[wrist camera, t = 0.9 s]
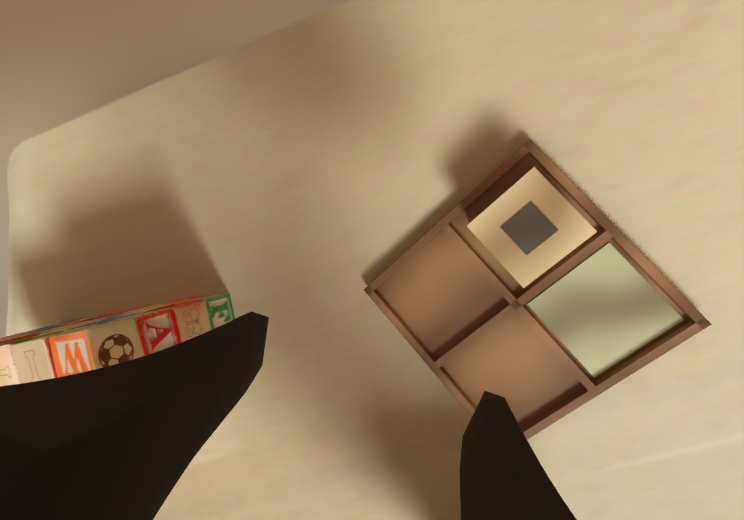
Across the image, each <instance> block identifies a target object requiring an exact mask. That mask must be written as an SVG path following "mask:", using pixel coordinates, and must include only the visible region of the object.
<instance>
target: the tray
mask: <svg viewBox="0 0 744 520" xmlns="http://www.w3.org/2000/svg"><path fill="white" fill-rule="evenodd" d="M533 167H535V168H536V169H537V170H538V171H539V172H540V173H541V174H542V175H543V176H544V177H545V178H546V179H547V180H548V181H549V182H550V184H551V185H552V186H553V187H554V188H555V189H556V190H557V191H558V192H559V193H560V194H561V195H562V196H563V197H564V198H565V199H566V200H567V201H568V202H569V203H570V204H571V205H572V206H573V207H574V208H575V209H576V210H577V211H578V212H579V213H580V214H581V215H582V216H583V218H584V219H585V220H586V221H587V222H588V223H589V224H590V225H591V226H592V227H593V228H594V229H595V230H596V231H597V232H596V233H595V234H594V235H592V236H591V237H590V238H588V239H587V240H586V241H584V242H583V243H582V244H581V245H579V246H578V247H577V248H575V249H574V250H573V251H572V252H570V253H569V254H568V255H566V256H565V257H564V258H562V259H561V260H560V261H559V262H557V263H556V264H555V265H553V266H552V267H551V268H549V269H548V270H547V271H546V272H544V273H543V274H542V275H540V276H539V277H538V278H536V279H535V280H534V281H533V282H531V283H530V284H529V285H527V286H526V287H525V288H523V287H522V286H521V285H520V284H519V283H518V282H517V281H516V279H515V278H514V277H513V276H512V275H511V274H510V273H509V272H508V271H507V270H506V269H505V267H504V266H503V265H502V264H501V263H500V262H499V261H498V260H497V259H496V258H495V257H494V255H493V254H492V253H491V252H490V251H489V250H488V249H487V248H486V247H485V246H484V245H483V243H482V242H481V241H480V240H479V239H478V238H477V237H476V236H475V235H474V234H473V233H472V231H471V230H470V229H469V228H468V227H467V225H468V224H469V223H470V222H472V221H473V220H474V219H475V218H476V217H477V216H478V215H480V214H481V213H482V212H483V211H484V210H485V209H486V208H488V207H489V206H490V205H491V204H492V203H493V202H494V201H496V200H497V199H498V198H499V197H500V196H501V195H502V194H504V193H505V192H506V191H507V190H508V189H509V188H510V187H512V186H513V185H514V184H515V183H516V182H517V181H518V180H520V179H521V178H522V177H523V176H524V175H525V174H526V173H528V172H529V171H530V170H531V169H532V168H533ZM364 290H365V292H366V293H367V294H368V295H369V296H370V298H371V299H372V300H373V301H374V302H375V303H376V305H377V306H378V307H379V308H380V309H381V311H382V312H383V313H384V314H385V315H386V316H387V318H388V319H389V320H390V321H391V322H392V324H393V325H394V326H395V327H396V328H397V329H398V331H399V332H400V333H401V334H402V335H403V336H404V338H405V339H406V340H407V341H408V342H409V344H410V345H411V346H412V347H413V348H414V349H415V351H416V352H417V353H418V354H419V355H420V357H421V358H422V359H423V360H424V361H425V362H426V364H427V365H428V366H429V367H430V368H431V370H432V371H433V372H434V373H435V374H436V375H437V377H438V378H439V379H440V380H441V381H442V382H443V384H444V385H445V386H446V387H447V388H448V390H449V391H450V392H451V393H452V394H453V395H454V397H455V398H456V399H457V400H458V401H459V403H460V404H461V405H462V406H463V407H464V408H465V410H466V411H467V412H468V413H469V414H470V416H471V417H472V416H473V414H474V412H475V410H476V408H477V406H478V404H479V402H480V400H481V397H482V395H483V393H484V391H487V392H490V393H493V394H496V395H499V396H502V397H505V399H506V401H507V403H508V405H509V407H510V409H511V411H512V413H513V415H514V416H515V418H516V420H517V422H518V424H519V426H520V428H521V430H522V432H523V434H524V435H525V437H526V439H529V438H530V437H532V436H533V435H535V434H537V433H538V432H540V431H541V430H543V429H545V428H546V427H548V426H549V425H551V424H553V423H554V422H556V421H557V420H559V419H561V418H562V417H564V416H565V415H567V414H569V413H570V412H572V411H573V410H575V409H577V408H578V407H580V406H581V405H583V404H585V403H586V402H588V401H589V400H591V399H593V398H594V397H596V396H597V395H599V394H601V393H602V392H604V391H605V390H607V389H609V388H610V387H612V386H613V385H615V384H617V383H618V382H620V381H621V380H623V379H625V378H626V377H628V376H629V375H631V374H633V373H634V372H636V371H637V370H639V369H641V368H642V367H644V366H645V365H647V364H649V363H650V362H652V361H653V360H655V359H657V358H658V357H660V356H661V355H663V354H665V353H666V352H668V351H669V350H671V349H673V348H674V347H676V346H677V345H679V344H681V343H682V342H684V341H685V340H687V339H689V338H690V337H692V336H693V335H695V334H697V333H698V332H700V331H701V330H703V329H705V328H706V327H708V326H709V325H711V323H710V322H709V321H708V320H707V319H706V318H705V317H704V316H703V315H702V314H701V313H700V312H699V311H698V310H697V309H696V308H695V307H694V306H693V305H692V304H691V303H690V302H689V301H688V300H687V299H686V298H685V297H684V296H683V295H682V294H681V293H680V292H679V291H678V290H677V289H676V288H675V287H674V286H673V285H672V284H671V283H670V282H669V281H668V280H667V278H666V277H665V276H664V275H663V274H662V273H661V272H660V271H659V270H658V269H657V268H656V267H655V266H654V265H653V264H652V263H651V262H650V261H649V260H648V259H647V258H646V257H645V256H644V255H643V254H642V253H641V252H640V251H639V250H638V249H637V248H636V247H635V246H634V245H633V244H632V243H631V242H630V241H629V240H628V239H627V238H626V237H625V236H624V235H623V234H622V233H621V232H620V231H619V230H618V229H617V227H616V226H615V225H614V224H613V223H612V222H611V221H610V220H609V219H608V218H607V217H606V216H605V215H604V214H603V213H602V212H601V211H600V210H599V209H598V208H597V207H596V206H595V205H594V204H593V203H592V202H591V201H590V200H589V199H588V198H587V197H586V196H585V195H584V194H583V193H582V192H581V191H580V190H579V189H578V188H577V187H576V186H575V185H574V184H573V183H572V182H571V181H570V180H569V179H568V178H567V176H566V175H565V174H564V173H563V172H562V171H561V170H560V169H559V168H558V167H557V166H556V165H555V164H554V163H553V162H552V161H551V160H550V159H549V158H548V157H547V156H546V155H545V154H544V153H543V152H542V151H541V150H540V149H539V148H538V147H537V146H536V145H535V144H534V143H533V142H532V141H531V140H529V141H528V142H527V143H526V144H525V145H523V146H522V147H521V148H520V149H519V150H518V151H517V152H516V153H515V154H514V155H512V156H511V157H510V158H509V159H508V160H507V161H506V162H505V163H504V164H502V165H501V166H500V167H499V168H498V169H497V170H496V171H495V172H494V173H493V174H491V175H490V176H489V177H488V178H487V179H486V180H485V181H484V182H483V183H481V184H480V185H479V186H478V187H477V188H476V189H475V190H474V191H473V192H471V193H470V194H469V195H468V196H467V197H466V198H465V199H464V200H463V201H462V202H460V203H459V204H458V205H457V206H456V207H455V208H454V209H453V210H452V211H450V212H449V213H448V214H447V215H446V216H445V217H444V218H443V219H442V220H441V221H439V222H438V223H437V224H436V225H435V226H434V227H433V228H432V229H431V230H429V231H428V232H427V233H426V234H425V235H424V236H423V237H422V238H421V239H420V240H418V241H417V242H416V243H415V244H414V245H413V246H412V247H411V248H410V249H408V250H407V251H406V252H405V253H404V254H403V255H402V256H401V257H400V258H399V259H397V260H396V261H395V262H394V263H393V264H392V265H391V266H390V267H389V268H387V269H386V270H385V271H384V272H383V273H382V274H381V275H380V276H379V277H377V278H376V279H375V280H374V281H373V282H372V283H371V284H370V285H369V286H368V287H366V288H365V289H364Z"/></svg>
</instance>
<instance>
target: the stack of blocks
mask: <svg viewBox="0 0 744 520" xmlns="http://www.w3.org/2000/svg"><path fill="white" fill-rule="evenodd" d="M234 319H235V318H234V313H233V308H232V304H231V299H230V294H229V293H223V294H217V295H211V296H206V297H195V298H190V299H184V300H179V301H174V302H167V303H161V304H156V305H151V306H146V307H143V308H139V309H135V310H131V311H126V312H121V313H117V314H113V315H108V316H103V317H102V316H95V317H89V318H84V319H78V320H74V321H70V322H65V323H60V324H56V325H53V326H49V327H45V328H40V329H37V330H32V331H28V332H23V333H19V334H15V335H11V336H7V337H3V338H0V386H6V385H15V384H22V383H28V382H35V381H41V380H46V379H52V378H58V377H63V376H68V375H73V374H78V373H82V372H86V371H91V370H95V369H99V368H103V367H107V366H111V365H115V364H119V363H123V362H126V361H129V360H133V359H136V358H139V357H143V356H146V355H149V354H152V353H155V352H158V351H160V350H163V349H166V348H168V347H171V346H174V345H176V344H179V343H181V342H184V341H186V340H189V339H191V338H194V337H196V336H199V335H201V334H203V333H205V332H208V331H210V330H212V329H214V328H217V327H219V326H221V325H223V324H225V323H228V322H230V321H232V320H234Z"/></svg>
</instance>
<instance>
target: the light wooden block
mask: <svg viewBox="0 0 744 520" xmlns="http://www.w3.org/2000/svg"><path fill="white" fill-rule="evenodd" d="M467 227H468V228H469V229H470V230H471V231H472V233H473V234H474V235H475V236H476V237H477V238H478V239H479V240H480V241H481V242H482V243H483V245H484V246H485V247H486V248H487V249H488V250H489V251H490V252H491V253H492V254H493V255H494V257H495V258H496V259H497V260H498V261H499V262H500V263H501V264H502V265H503V266H504V267H505V269H506V270H507V271H508V272H509V273H510V274H511V275H512V276H513V277H514V278H515V279H516V281H517V282H518V283H519V284H520V285H521V286H522V287H523V288H525V287H526V286H527V285H529V284H530V283H531V282H533V281H534V280H535V279H536V278H538V277H539V276H540V275H542V274H543V273H544V272H546V271H547V270H548V269H549V268H551V267H552V266H553V265H555V264H556V263H557V262H559V261H560V260H561V259H562V258H564V257H565V256H566V255H568V254H569V253H570V252H572V251H573V250H574V249H575V248H577V247H578V246H579V245H581V244H582V243H583V242H584V241H586V240H587V239H588V238H590V237H591V236H592V235H594V234H595V233H596V232H597V231H596V230H595V229H594V228H593V227H592V226H591V225H590V224H589V223H588V222H587V221H586V220H585V219H584V218H583V216H582V215H581V214H580V213H579V212H578V211H577V210H576V209H575V208H574V207H573V206H572V205H571V204H570V203H569V202H568V201H567V200H566V199H565V198H564V197H563V196H562V195H561V194H560V193H559V192H558V191H557V190H556V189H555V188H554V187H553V186H552V185H551V184H550V182H549V181H548V180H547V179H546V178H545V177H544V176H543V175H542V174H541V173H540V172H539V171H538V170H537V169H536V168H535V167H533V168H532V169H531V170H530V171H529V172H528V173H526V174H525V175H524V176H523V177H522V178H521V179H520V180H518V181H517V182H516V183H515V184H514V185H513V186H512V187H510V188H509V189H508V190H507V191H506V192H505V193H504V194H502V195H501V196H500V197H499V198H498V199H497V200H496V201H494V202H493V203H492V204H491V205H490V206H489V207H488V208H486V209H485V210H484V211H483V212H482V213H481V214H480V215H478V216H477V217H476V218H475V219H474V220H473V221H472V222H470V223H469V224H468V225H467Z"/></svg>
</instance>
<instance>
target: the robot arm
mask: <svg viewBox="0 0 744 520" xmlns="http://www.w3.org/2000/svg"><path fill="white" fill-rule="evenodd" d="M268 319H269V317H266V316H263V315H260V314H257V313H254V312H250V313H247V314H245V315H243V316H241V317H238V318H236V319H234V320H232V321H230V322H228V323H225V324H223V325H221V326H219V327H217V328H214V329H212V330H210V331H208V332H205V333H203V334H201V335H199V336H196V337H194V338H191V339H189V340H186V341H184V342H181V343H179V344H176V345H174V346H171V347H168V348H166V349H163V350H160V351H158V352H155V353H152V354H149V355H146V356H143V357H139V358H136V359H133V360H129V361H126V362H123V363H119V364H115V365H111V366H107V367H103V368H99V369H95V370H91V371H86V372H82V373H78V374H73V375H68V376H63V377H58V378H52V379H46V380H41V381H35V382H28V383H22V384H15V385H6V386H0V520H153V518H154V517H155V515H156V514H157V512H158V511H159V509H160V507H161V506H162V504H163V503H164V501H165V500H166V498H167V496H168V495H169V493H170V492H171V490H172V489H173V487H174V486H175V484H176V483H177V481H178V480H179V478H180V477H181V475H182V474H183V472H184V471H185V469H186V468H187V466H188V465H189V463H190V462H191V460H192V459H193V458H194V456H195V455H196V454H197V452H198V451H199V450H200V448H201V447H202V446H203V445H204V443H205V442H206V441H207V440H208V438H209V437H210V436H211V435H212V433H213V432H214V431H215V430H216V429H217V427H218V426H219V425H220V424H221V422H222V421H223V420H224V419H225V417H226V416H227V415H228V414H229V412H230V411H231V410H232V409H233V407H234V406H235V405H236V404H237V402H238V401H239V400H240V399H241V397H242V396H243V395H244V393H245V392H246V391H247V389H248V388H249V386H250V384H251V383H252V381H253V380H254V378H255V376H256V375H257V373H258V371H259V370H260V368H261V366H262V362H263V355H264V348H265V340H266V333H267V326H268ZM460 497H461V520H577V519H576V518H575V517H574V515H573V514H572V512H571V511H570V510H569V508H568V507H567V505H566V504H565V502H564V501H563V499H562V498H561V496H560V495H559V493H558V492H557V490H556V488H555V487H554V485H553V484H552V482H551V480H550V479H549V477H548V476H547V474H546V472H545V471H544V469H543V467H542V466H541V464H540V462H539V461H538V459H537V457H536V455H535V454H534V452H533V450H532V448H531V447H530V445H529V443H528V441H527V439H526V437H525V435H524V434H523V432H522V430H521V428H520V426H519V424H518V422H517V420H516V418H515V416H514V415H513V413H512V411H511V409H510V407H509V405H508V403H507V401H506V399H505V397H502V396H499V395H496V394H493V393H490V392H487V391H484V393H483V395H482V397H481V400H480V402H479V404H478V406H477V408H476V410H475V412H474V414H473V416H472V418H471V421H470V423H469V425H468V427H467V429H466V431H465V433H464V435H463V440H462V450H461V461H460Z"/></svg>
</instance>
